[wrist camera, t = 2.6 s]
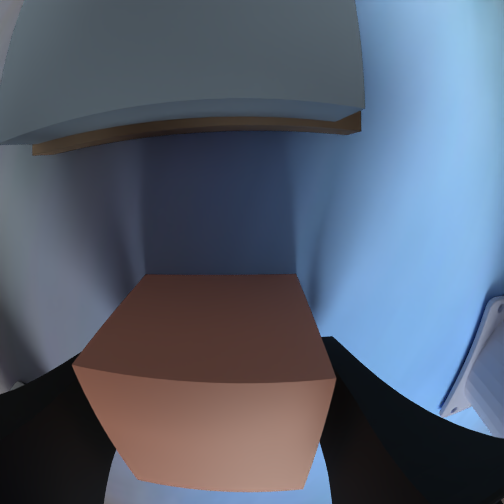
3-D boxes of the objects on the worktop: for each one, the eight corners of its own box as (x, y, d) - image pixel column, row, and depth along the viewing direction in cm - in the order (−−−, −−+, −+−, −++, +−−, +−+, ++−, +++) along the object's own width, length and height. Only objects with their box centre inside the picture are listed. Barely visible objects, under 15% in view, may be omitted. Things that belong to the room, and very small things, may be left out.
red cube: (295, 273, 9) (336, 378, 4) (287, 384, 11) (302, 489, 6) (146, 273, 9) (71, 364, 4) (168, 382, 11) (137, 479, 6)
